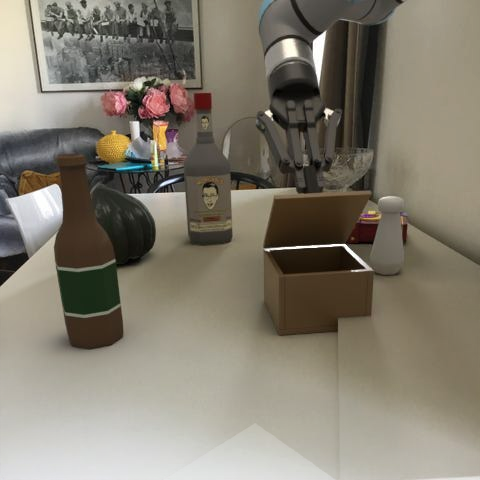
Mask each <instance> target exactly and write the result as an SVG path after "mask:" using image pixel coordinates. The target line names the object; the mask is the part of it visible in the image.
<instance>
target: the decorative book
mask: <svg viewBox="0 0 480 480" xmlns="http://www.w3.org/2000/svg"><path fill="white" fill-rule="evenodd" d="M381 214H382V212H377V211H376V210H368V211H367V212H364V211H362V213H361V215H360V217H359V219H358V221H357V223H356V225H355V226H354V228H353V230H352V232H351V234H350V236H349V238H348V240H347V241H346V242H347V244H358V243H359V242H367V243H368V242H369V243H374V240H375V236H376V233H377V229H378V225H379V221H380V218H381ZM400 218H401V228H402V239H403V244H406V243H407V237H408V236H407V235H408V225H409V223H408V212H407V211H402V212H400Z"/></svg>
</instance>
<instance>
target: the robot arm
mask: <svg viewBox="0 0 480 480" xmlns="http://www.w3.org/2000/svg"><path fill="white" fill-rule="evenodd" d="M407 1H408V0H262V2H261V4H260V6H259V9H258V35H259V38H260V43H261V47H262V52H263V61H264V67H265V74H266V75H265V77H266V82H267V88H268V89H267V90H268V95H269V103H270V104H269V105H268V109H267V110H266V111H263V110H258V111H257V112H256V118H255V119H256V120H255V128H256V129H257V130H258V131H259V132H260V133H261V134H262V135H263V136H264V139H265V141H266V143H267V146H268V147H269V149H270V152H271V155H272V157H273V159H274V162H275V163H276V165H277V168H278V170H279V172H280V173H281V174H283V175H286V174H291V178H292V179H293V180H294V184H295V192H296V194H309V193H323V191H324V188H325V184H326V182H325V177H324V172H325V173H328V172H330V171H331V168H332V165H333V162H334V159H335V150H336V149H335V148H336V138H337V130H338V129H337V128H338V126H339V125H340V122H341V118H342V114H343V110H342V109H341V108H339V107H337V108H334V110H333V109H330V108H328V107H327V104H326V102H325V101H324V100H323V99H322V97H321V90H320V85H319V81H318V75H317V70H316V63H315V59H314V56H313V49H312V43H313V42H314V41H315V40H316V39H317V38H319V37H320V36H321V35H323V34H324V33H325V32H326V31H327V30H329V28H331V27H332V26H333V25H335V24H336V23H337V22H338V21H340V20H341V21H345V22H352V23H357V24H360V25H363V26H374V25H379V24H382V23H384V22H386V21H387V20H389V19H390V18H391V17H392V16H393V14H394V12H395V11H396V9H397V8H398V7H399V6H401V5H402V4H404V3H406V2H407ZM322 118H323V119H324V121H323V123H324V125H325V127H326V130H325V135H324V136H325V137H324V147H323V154H321V149H320V145H319V140H318V134H317V129H316V127H317V125H318V124H319V123H320V121H321V120H322ZM274 122H275V123H276V124H277V125H278V126H279V127H280V128H281V129H283V130H284V131H285V138H286V141H287V146H288V151H287V149H286V147H285V144H284V142H283V140H282V137H281V135H280V133H279V131H278V129H277V127H276V125H275V123H274ZM300 133H301V134H302V137H303V138H302V139H303V140H304V144H305V149H306V155H307V161H308V165H304V164H305V163H304V157H303V150H302V144H301V138H300ZM322 155H323V156H322Z"/></svg>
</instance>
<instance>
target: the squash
mask: <svg viewBox="0 0 480 480" xmlns="http://www.w3.org/2000/svg"><path fill="white" fill-rule="evenodd" d="M90 194H91V199H92V205H93V209H94V213H95V216H96V219H97V222H98V223H99V224H100V225H101V227H102V228H103V229H104V230H105V232H106V233H107V235H108V237H109V239H110V241H111V243H112V245H113V249H114V254H115V260H116V265H125V264H126V263H127V262H129V260H130V259H133V260H134V259H137V258H142V257H143V256H145V255H147V254H148V253H149V252H151V250H152V249H153V248H154V245H155V244H156V243H155V242H156V239H157V228H156V222H155V219H154V217H153V215H152V213H151V212H150V210H149V208H148V207H147V206H146V205H145V204H144V203H143V202H142V201H141V200H140V199H138V198H136V197H134V196H133V195H131V194H128V193H125V192H122V191H119V190H118V189H114V188H110V187H107V186H106V187H105V186H96V187H95V188H94V190H93V191H92V192H91V193H90Z"/></svg>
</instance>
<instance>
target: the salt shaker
mask: <svg viewBox="0 0 480 480" xmlns="http://www.w3.org/2000/svg"><path fill="white" fill-rule="evenodd" d="M377 210H378V212H379V213H382V214H381V218H380V221H379V225H378V229H377V233H376V236H375V240H374V242H373V245H372V248H371V252H370V256H369V260H370V263H371V265H372V269H373V270H374V274H375V273H376V274H380V275H382V276H394V275H397V274H398V273H399V272H400V270H401V268H402V266H403V265H404V262H405V250H404V243H403V239H402V228H401V218H400V212H404V210H405V200H404V199H403V198H402V197H399V196H394V195H390V196H389V195H388V196H387V195H386V196H383V197H381V198H380V199H379V200H378V202H377Z"/></svg>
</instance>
